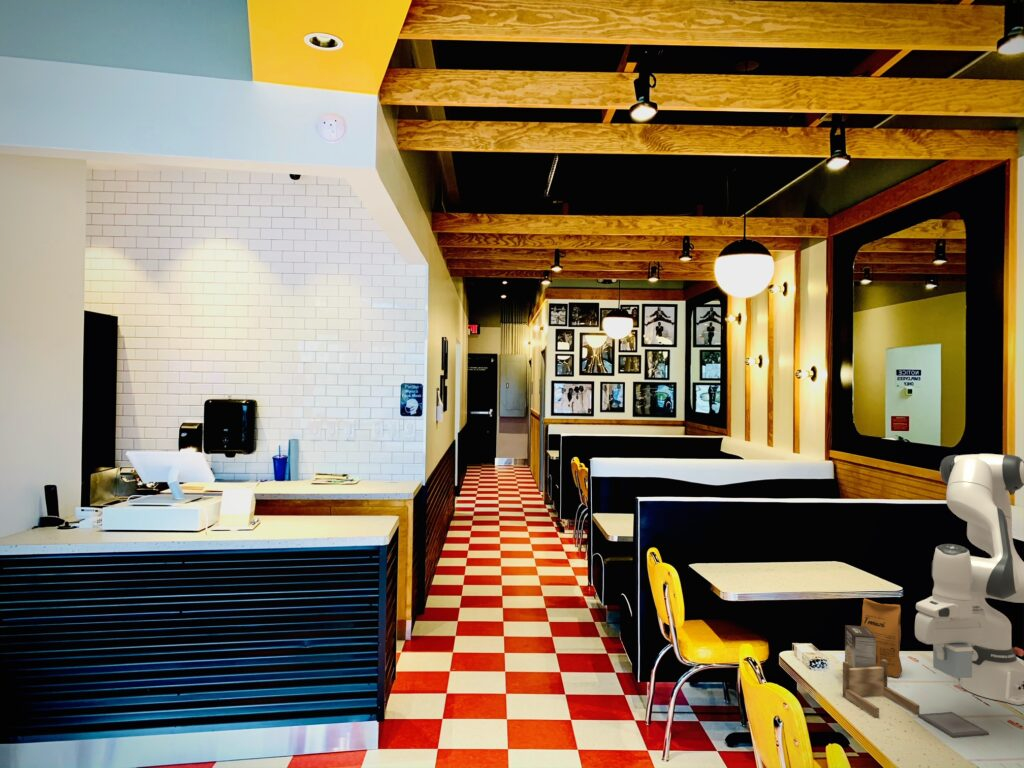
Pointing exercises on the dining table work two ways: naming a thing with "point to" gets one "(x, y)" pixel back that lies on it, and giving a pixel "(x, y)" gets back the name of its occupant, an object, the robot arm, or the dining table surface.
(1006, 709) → the dining table surface
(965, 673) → the block
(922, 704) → the dining table surface
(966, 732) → the mat
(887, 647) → the coffee package
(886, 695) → the wooden stand
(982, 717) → the dining table surface
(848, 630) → the coffee box
